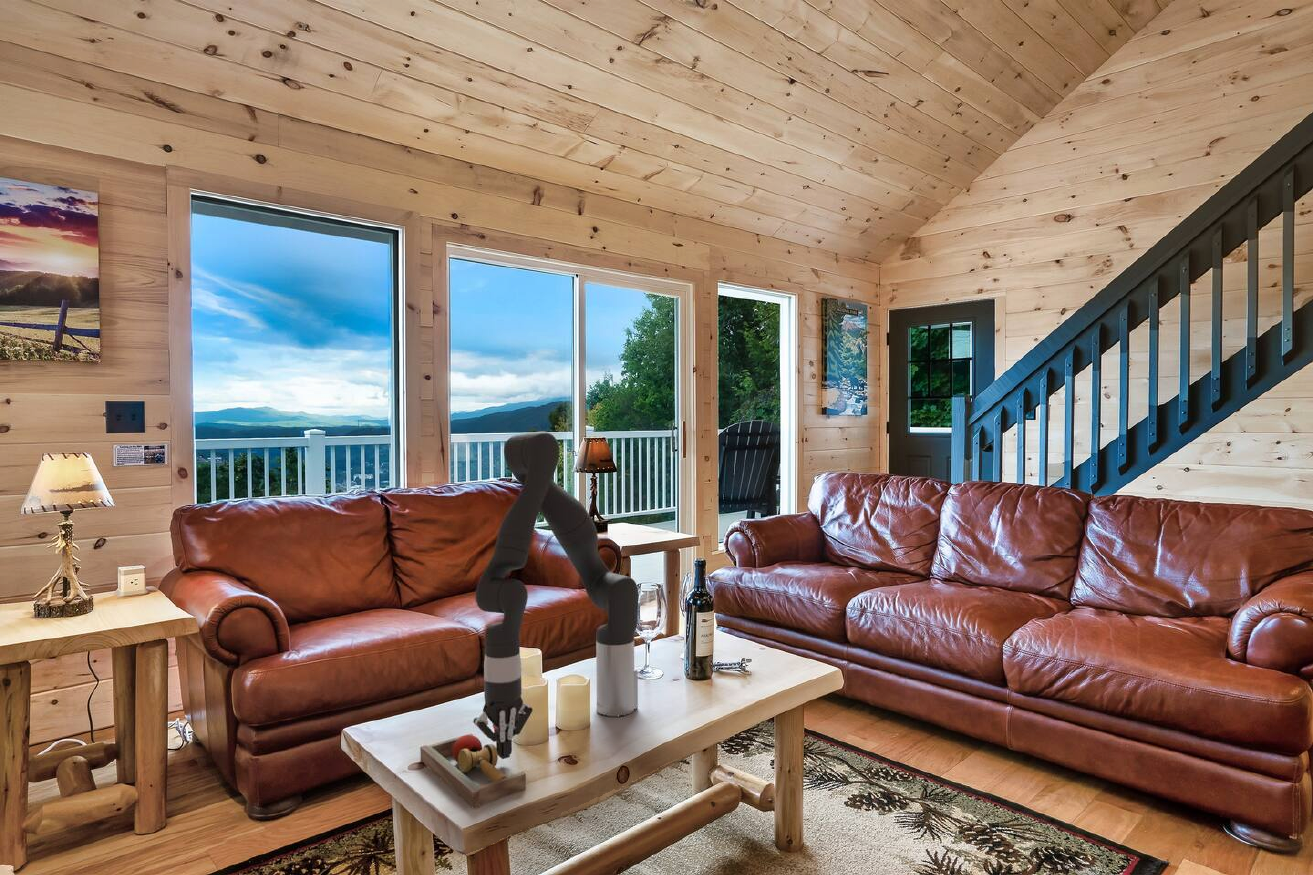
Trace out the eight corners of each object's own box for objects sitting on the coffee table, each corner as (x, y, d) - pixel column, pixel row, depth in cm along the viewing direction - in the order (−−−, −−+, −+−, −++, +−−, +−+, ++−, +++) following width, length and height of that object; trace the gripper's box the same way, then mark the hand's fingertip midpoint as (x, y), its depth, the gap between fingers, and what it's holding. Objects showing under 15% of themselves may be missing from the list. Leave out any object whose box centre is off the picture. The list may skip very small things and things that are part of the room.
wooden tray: (470, 746, 172) (470, 732, 171) (527, 789, 152) (526, 774, 152) (420, 760, 165) (420, 746, 164) (473, 808, 145) (473, 792, 145)
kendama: (523, 789, 155) (479, 747, 169) (520, 762, 153) (476, 721, 167) (488, 809, 150) (446, 763, 164) (484, 781, 149) (442, 737, 162)
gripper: (522, 663, 169) (523, 742, 170) (464, 676, 161) (466, 759, 161) (540, 672, 163) (541, 754, 164) (481, 687, 155) (483, 773, 156)
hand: (504, 756), depth 163 cm, fingers closed
